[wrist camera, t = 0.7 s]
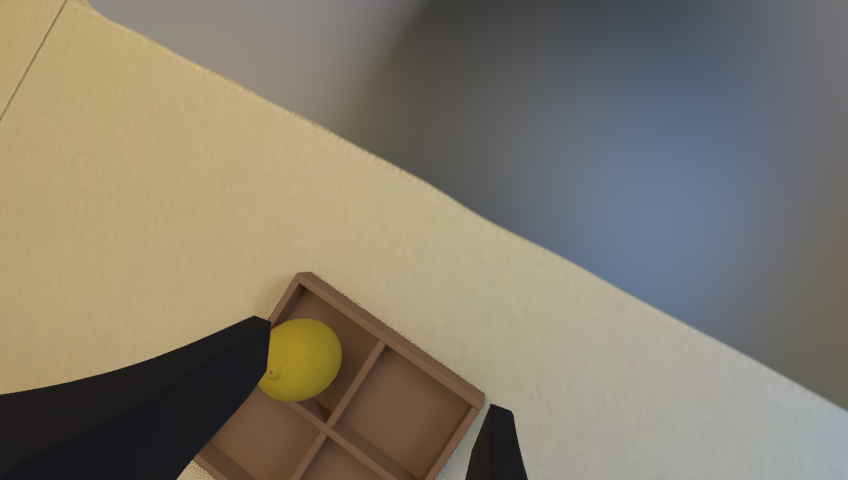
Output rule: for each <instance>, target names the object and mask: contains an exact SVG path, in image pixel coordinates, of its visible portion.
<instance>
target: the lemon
mask: <svg viewBox="0 0 848 480" xmlns="http://www.w3.org/2000/svg"><path fill="white" fill-rule="evenodd" d="M341 360H342V350H341V345H340V342H339V339H338V337H337V336H336V334H335V332H334V331H333V330H332V329H331V328H330V327H329V326H328V325H326V324H324V323H322V322H320V321H317V320H314V319H309V318H299V319H294V320H290V321H287V322H284V323H282V324H280V325H279V326H277V327H275V328H274V329H272V330H271V333H270V344H269V354H268V364H267V371H266V373H265V374H264V376H263V377H262V379H261V380H260V381H259V383H258V385H259V387H260V388H261V389H262V391H263V392H265V393H266V394H267V395H268V396H270V397H272V398H274V399H276V400H279V401H285V402H295V401H303V400H306V399H308V398H311V397H313V396H316V395H318V394H319V393H320V392H322V391H323V390H324V389H326V388H327V387H328V386H329V385H330V384H331V382H332V381H333V380H334V378H335V377H336V375H337V373H338V371H339V368H340V366H341Z"/></svg>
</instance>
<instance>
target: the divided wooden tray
mask: <svg viewBox="0 0 848 480" xmlns="http://www.w3.org/2000/svg"><path fill="white" fill-rule="evenodd" d="M299 318H309V319H314V320H317V321H320V322H322V323H324V324H326V325H328V326H329V327H330V328H331V329H332V330H333V331H334V332H335V334H336V336H337V337H338V339H339V342H340V345H341V350H342V360H341V366H340V368H339V371H338V373H337V375H336V377H335V378H334V380H333V381H332V382H331V384H330V385H329V386H328V387H327V388H326V389H324V390H323V391H322V392H320V393H319V394H318V395H316V396H313V397H311V398H308V399H306V400H303V401H295V402H285V401H279V400H276V399H274V398H272V397H270V396H268V395H267V394H266V393H265V392H263V391H262V389H261V388H260V387H259V385H258V384H257V386H256V387H255V389H254V390H253V391H252V393H251V394H250V396H249V397H248V398H247V399H246V401H245V402H244V403H243V404H242V405H241V406H240V407H239V408H238V410H237V411H236V412H235V413H234V414H233V415H232V416H231V417H230V419H229V420H228V421H227V422H226V423H225V424H224V425H223V426H222V427H221V428H220V430H219V431H218V432H217V433H216V434H215V435H214V436H213V437H212V438H211V439H210V441H209V442H208V443H207V444H206V445H205V446H204V447H203V448H202V449H201V450H200V452H199V453H198V454H197V455H196V456H195V457H194V458H193V459H192V460H194V461H195V462H196V463H197V464H198V465H200V466H201V467H202V468H203V469H204V470H206V471H207V472H208V473H209V474H210V475H212V476H213V477H214V478H215V479H216V480H435V478H436V477H437V475H438V474H439V472H440V471H441V469H442V468H443V466H444V465H445V463H446V462H447V460H448V459H449V457H450V456H451V454H452V453H453V451H454V450H455V448H456V447H457V445H458V444H459V442H460V441H461V439H462V438H463V436H464V434H465V433H466V431H467V430H468V428H469V427H470V425H471V424H472V422H473V421H474V419H475V418H476V416H477V415H478V413H479V411H480V410H481V409H482V407H483V406H484V400H485V394H484V393H483V392H481V391H480V390H478V389H477V388H476V387H474V386H473V385H471V384H470V383H468V382H467V381H466V380H464V379H463V378H461V377H460V376H458V375H457V374H456V373H454V372H453V371H451V370H450V369H448V368H447V367H446V366H444V365H443V364H441V363H440V362H438V361H437V360H436V359H434V358H433V357H431V356H430V355H428V354H427V353H426V352H424V351H423V350H421V349H420V348H418V347H417V346H416V345H414V344H413V343H411V342H410V341H408V340H407V339H406V338H404V337H403V336H401V335H400V334H398V333H397V332H396V331H394V330H393V329H391V328H390V327H388V326H387V325H386V324H384V323H383V322H381V321H380V320H378V319H377V318H376V317H374V316H373V315H371V314H370V313H368V312H367V311H366V310H364V309H363V308H361V307H360V306H358V305H357V304H356V303H354V302H353V301H351V300H350V299H348V298H347V297H346V296H344V295H343V294H341V293H340V292H338V291H337V290H336V289H334V288H333V287H331V286H330V285H328V284H327V283H326V282H324V281H323V280H321V279H320V278H318V277H317V276H316V275H314V274H313V273H311V272H301V273H297V274H296V276H295V277H294V279H293V280H292V282H291V284H290V285H289V287H288V288H287V290H286V292H285V293H284V295H283V296H282V298H281V300H280V301H279V303H278V304H277V306H276V308H275V309H274V311H273V312H272V314H271V316H270V317H269V319H268V321H271V322H272V323H271V330H272V329H274V328H275V327H277V326H279V325H280V324H282V323H284V322H287V321H290V320H294V319H299Z"/></svg>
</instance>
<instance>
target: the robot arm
mask: <svg viewBox="0 0 848 480" xmlns="http://www.w3.org/2000/svg"><path fill="white" fill-rule="evenodd" d="M271 323H272V322H271V321H268V320H265V319H262V318H260V317H257V316H252V317H250V318H248V319H245V320H243V321H241V322H238V323H236V324H234V325H232V326H230V327H227V328H225V329H223V330H221V331H219V332H216V333H214V334H212V335H209V336H207V337H205V338H202V339H200V340H198V341H196V342H193V343H191V344H188V345H186V346H183V347H181V348H178V349H176V350H173V351H170V352H168V353H165V354H163V355H160V356H157V357H155V358H152V359H149V360H146V361H143V362H140V363H137V364H134V365H131V366H128V367H125V368H121V369H118V370H115V371H111V372H108V373H104V374H100V375H96V376H92V377H88V378H84V379H80V380H76V381H72V382H68V383H63V384H58V385H53V386H48V387H43V388H38V389H32V390H27V391H21V392H15V393H9V394H2V395H0V480H176V479H177V478H178V477H179V476H180V474H181V473H182V472H183V470H184V469H185V468H186V467H187V465H188V464H189V463H190V462H191V461H192V459H193V458H194V457H195V456H196V455H197V454H198V453H199V452H200V450H201V449H202V448H203V447H204V446H205V445H206V444H207V443H208V442H209V441H210V439H211V438H212V437H213V436H214V435H215V434H216V433H217V432H218V431H219V430H220V428H221V427H222V426H223V425H224V424H225V423H226V422H227V421H228V420H229V419H230V417H231V416H232V415H233V414H234V413H235V412H236V411H237V410H238V408H239V407H240V406H241V405H242V404H243V403H244V402H245V401H246V399H247V398H248V397H249V396H250V394H251V393H252V391H253V390H254V389H255V387H256V386H257V384H258V383H259V381H260V380H261V379H262V377H263V376H264V374H265V373H266V371H267V364H268V354H269V344H270V333H271ZM465 480H528V478H527V475H526V471H525V468H524V464H523V460H522V456H521V452H520V448H519V443H518V438H517V434H516V428H515V422H514V415H513V413H512V412H511V411H510V410H507V409H504V408H502V407H499V406H496V405H494V404H491V405H490V407H489V410H488V412H487V415H486V417H485V420H484V422H483V425H482V427H481V430H480V432H479V435H478V437H477V439H476V442H475V444H474V447H473V449H472V453H471V457H470V461H469V466H468V470H467V474H466V479H465Z"/></svg>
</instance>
